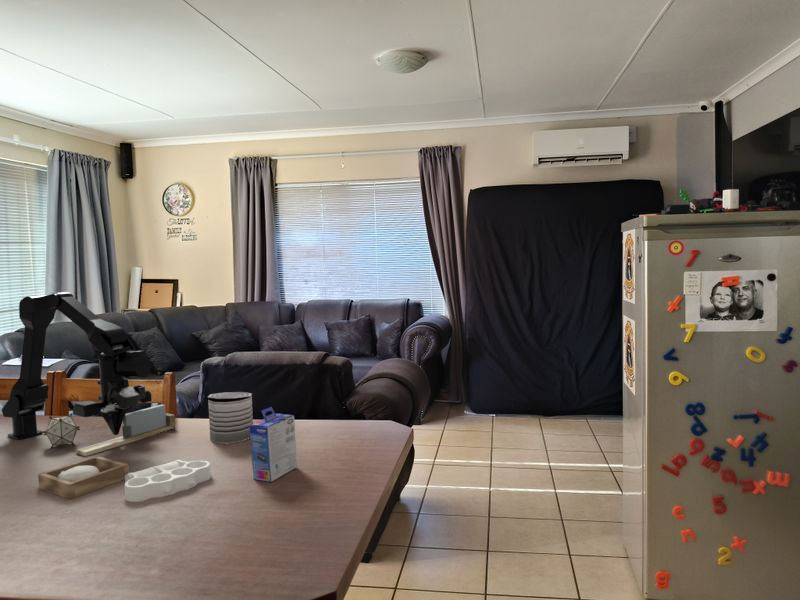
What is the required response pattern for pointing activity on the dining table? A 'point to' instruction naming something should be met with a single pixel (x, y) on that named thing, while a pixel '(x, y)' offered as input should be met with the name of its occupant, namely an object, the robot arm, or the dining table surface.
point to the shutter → (144, 420)
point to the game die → (61, 430)
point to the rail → (124, 440)
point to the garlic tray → (108, 475)
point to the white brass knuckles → (165, 479)
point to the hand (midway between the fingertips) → (115, 434)
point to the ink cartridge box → (273, 446)
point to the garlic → (78, 473)
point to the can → (230, 416)
